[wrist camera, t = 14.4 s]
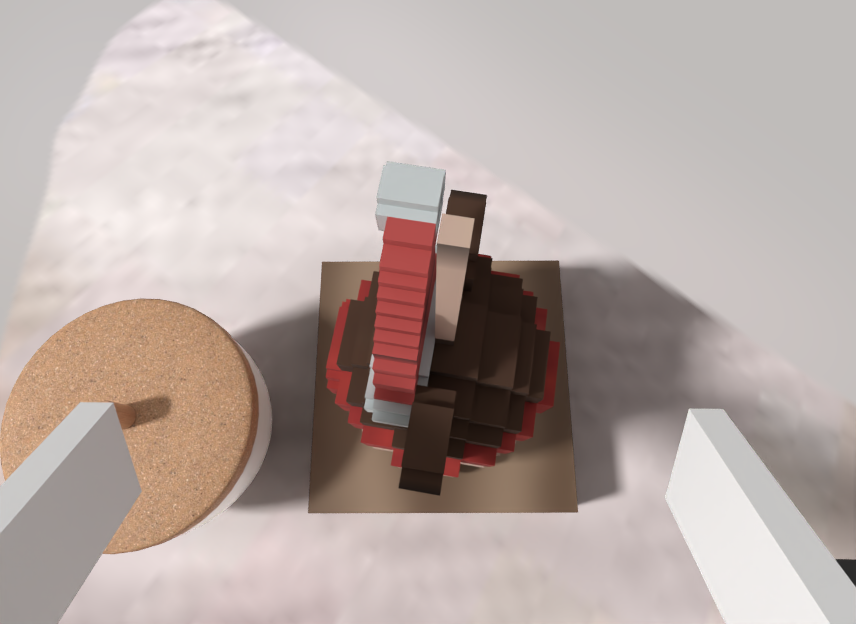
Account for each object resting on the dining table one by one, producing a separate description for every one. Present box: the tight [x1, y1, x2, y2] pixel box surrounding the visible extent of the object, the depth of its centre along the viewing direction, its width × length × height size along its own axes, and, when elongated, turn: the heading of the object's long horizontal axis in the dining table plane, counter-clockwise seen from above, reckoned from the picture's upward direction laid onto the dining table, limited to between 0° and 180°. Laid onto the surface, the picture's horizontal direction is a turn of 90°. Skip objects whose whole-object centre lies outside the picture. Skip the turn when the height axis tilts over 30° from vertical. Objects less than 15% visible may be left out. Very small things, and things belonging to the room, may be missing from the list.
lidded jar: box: [0, 299, 272, 554], centre depth 26 cm, size 11×11×9 cm
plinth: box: [308, 261, 578, 513], centre depth 30 cm, size 13×13×3 cm
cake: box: [326, 161, 560, 496], centre depth 20 cm, size 11×9×18 cm
